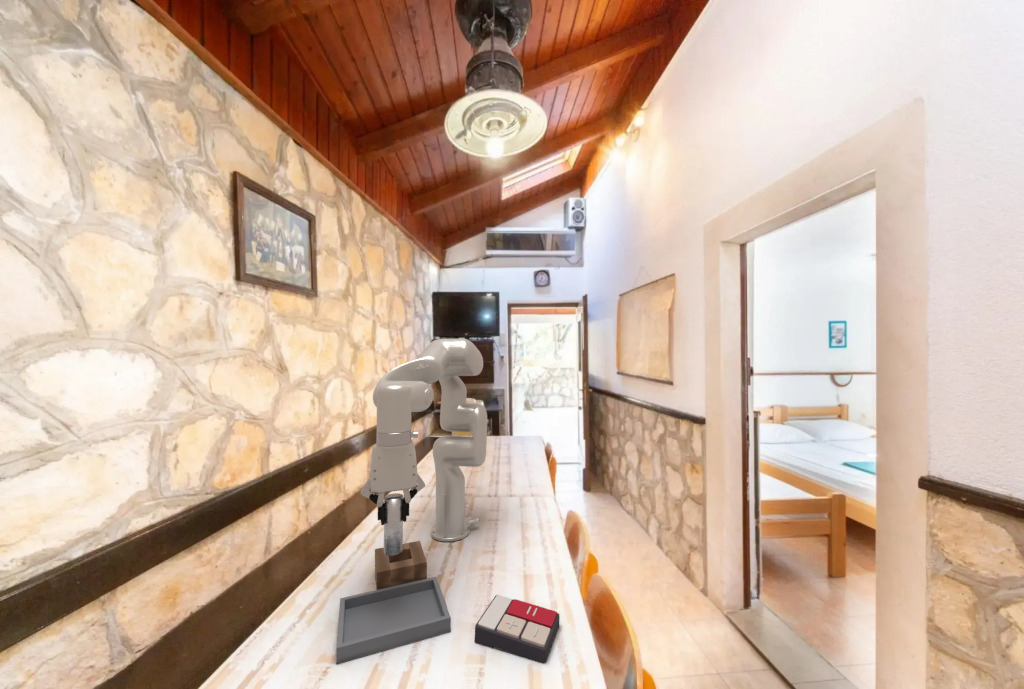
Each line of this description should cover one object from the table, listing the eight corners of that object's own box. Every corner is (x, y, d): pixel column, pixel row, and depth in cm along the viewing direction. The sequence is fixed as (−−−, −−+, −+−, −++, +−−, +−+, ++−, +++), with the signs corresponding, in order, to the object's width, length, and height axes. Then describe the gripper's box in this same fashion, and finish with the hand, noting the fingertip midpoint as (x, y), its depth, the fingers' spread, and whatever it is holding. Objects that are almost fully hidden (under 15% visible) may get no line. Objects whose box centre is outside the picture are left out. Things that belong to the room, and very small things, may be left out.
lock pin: (401, 545, 87) (401, 492, 88) (403, 553, 84) (403, 498, 84) (383, 548, 86) (383, 494, 86) (384, 557, 82) (384, 500, 83)
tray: (436, 588, 95) (436, 576, 95) (450, 631, 80) (450, 617, 80) (340, 611, 87) (340, 598, 87) (336, 664, 72) (336, 648, 72)
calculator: (546, 646, 72) (474, 622, 77) (544, 669, 72) (473, 643, 77) (560, 609, 82) (496, 590, 88) (559, 629, 82) (495, 609, 88)
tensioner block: (419, 562, 107) (419, 540, 108) (426, 586, 96) (426, 562, 96) (374, 571, 103) (374, 549, 103) (376, 597, 92) (376, 572, 92)
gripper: (428, 432, 92) (428, 509, 92) (354, 438, 86) (353, 520, 85) (434, 438, 85) (433, 521, 85) (353, 445, 79) (352, 534, 78)
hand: (393, 520), depth 85 cm, fingers closed on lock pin, 4 cm apart
